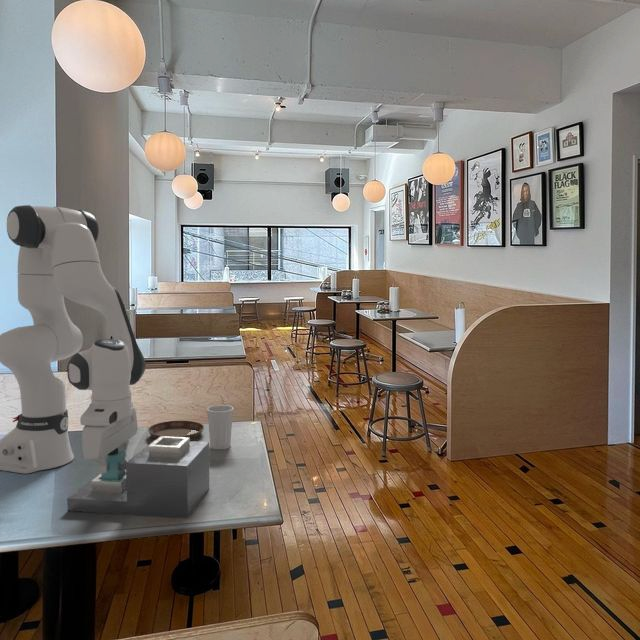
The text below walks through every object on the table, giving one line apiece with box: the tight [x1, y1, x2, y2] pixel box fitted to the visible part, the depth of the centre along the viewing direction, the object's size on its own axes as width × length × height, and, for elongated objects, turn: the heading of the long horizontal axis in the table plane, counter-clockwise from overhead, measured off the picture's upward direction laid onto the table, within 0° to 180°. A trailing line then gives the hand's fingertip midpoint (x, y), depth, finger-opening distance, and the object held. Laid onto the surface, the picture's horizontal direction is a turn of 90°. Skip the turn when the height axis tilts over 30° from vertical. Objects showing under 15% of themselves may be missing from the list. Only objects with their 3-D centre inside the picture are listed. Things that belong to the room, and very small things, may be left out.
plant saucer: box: [147, 420, 205, 441], centre depth 174 cm, size 18×18×3 cm
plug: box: [101, 447, 128, 480], centre depth 127 cm, size 5×4×10 cm
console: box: [66, 436, 210, 519], centre depth 126 cm, size 28×16×14 cm, turn 85°
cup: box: [206, 404, 234, 450], centre depth 164 cm, size 8×8×12 cm
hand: (113, 465), depth 127 cm, fingers open, 7 cm apart
